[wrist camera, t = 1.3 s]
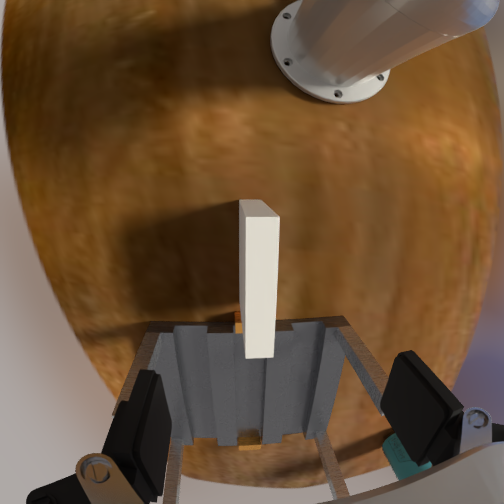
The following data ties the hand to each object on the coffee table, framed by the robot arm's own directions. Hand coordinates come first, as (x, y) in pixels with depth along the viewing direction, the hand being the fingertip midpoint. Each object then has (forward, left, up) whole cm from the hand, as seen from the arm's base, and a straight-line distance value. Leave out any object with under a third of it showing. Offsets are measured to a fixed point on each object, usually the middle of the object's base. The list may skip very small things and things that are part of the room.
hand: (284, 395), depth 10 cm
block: (0, 0, -19) cm, 19 cm away
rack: (+17, 0, -19) cm, 25 cm away
